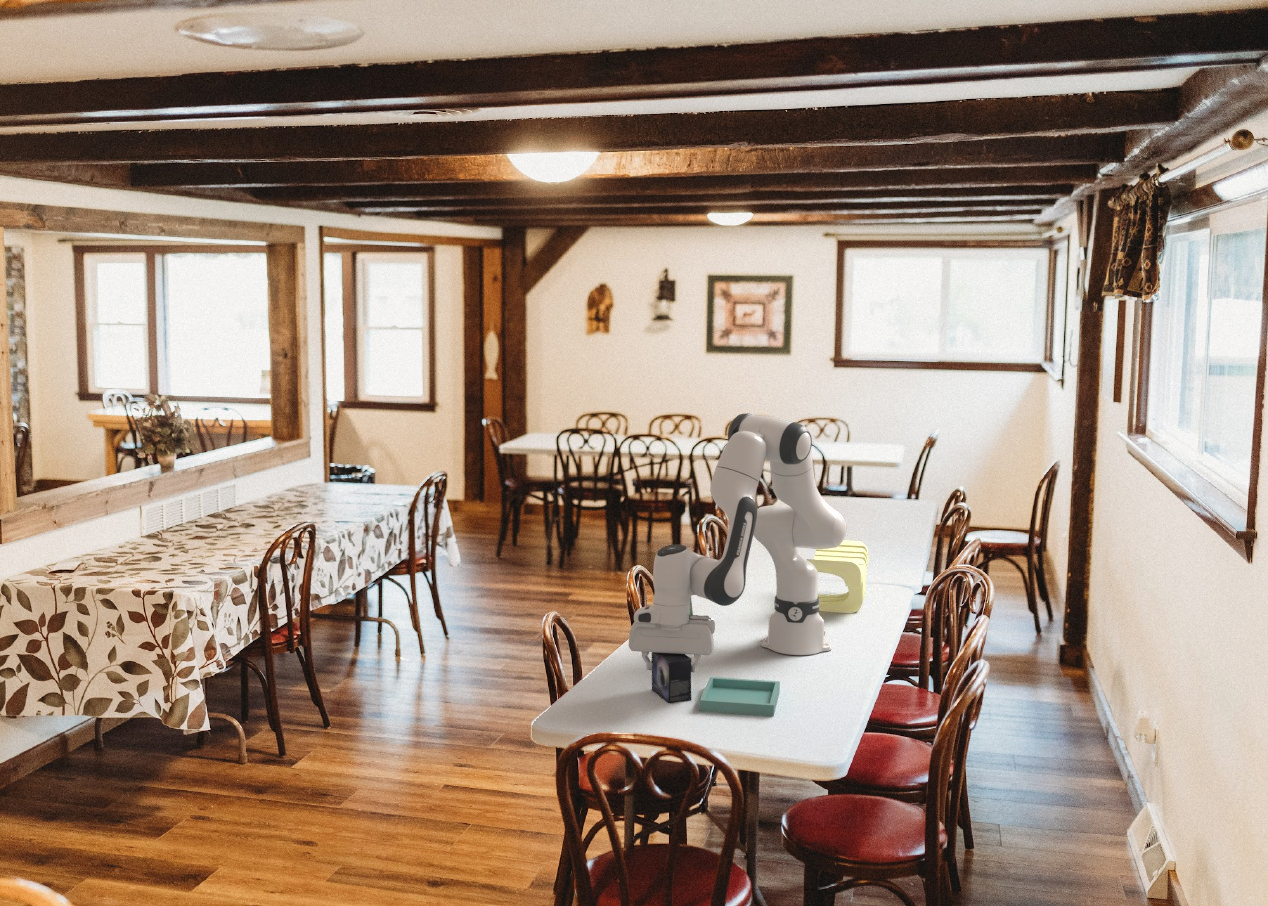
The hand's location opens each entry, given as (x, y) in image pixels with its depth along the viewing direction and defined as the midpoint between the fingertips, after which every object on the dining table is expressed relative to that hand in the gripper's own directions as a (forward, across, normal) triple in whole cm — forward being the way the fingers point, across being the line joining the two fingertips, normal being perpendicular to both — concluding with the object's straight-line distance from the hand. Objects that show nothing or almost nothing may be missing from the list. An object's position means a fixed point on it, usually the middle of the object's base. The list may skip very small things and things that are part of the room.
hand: (671, 670), depth 278 cm
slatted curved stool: (+5, -38, -90) cm, 98 cm away
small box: (+7, 0, -1) cm, 7 cm away
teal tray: (+6, -17, 0) cm, 18 cm away
